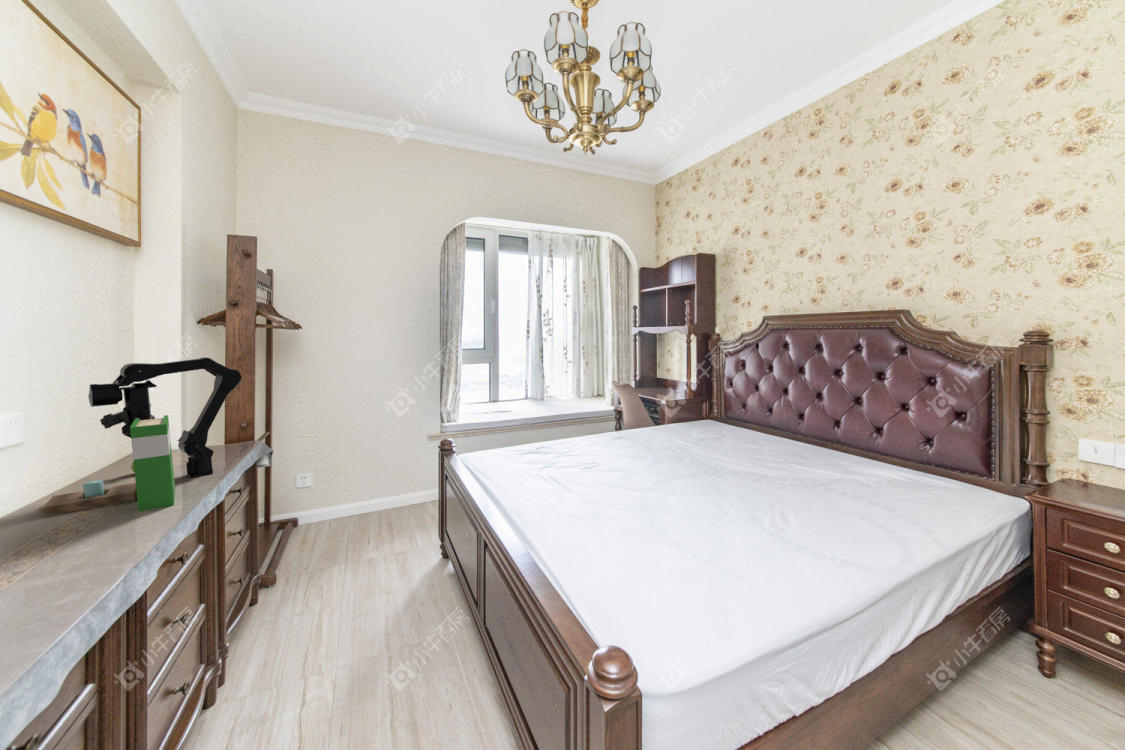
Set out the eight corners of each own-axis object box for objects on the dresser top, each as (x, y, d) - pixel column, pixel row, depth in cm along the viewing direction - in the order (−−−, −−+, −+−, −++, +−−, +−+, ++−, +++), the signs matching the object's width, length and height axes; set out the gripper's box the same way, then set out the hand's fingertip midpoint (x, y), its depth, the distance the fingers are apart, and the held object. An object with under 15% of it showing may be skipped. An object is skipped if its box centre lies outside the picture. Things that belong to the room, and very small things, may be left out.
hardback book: (143, 494, 134) (135, 418, 132) (175, 488, 139) (168, 415, 137) (138, 511, 121) (130, 427, 119) (174, 504, 126) (166, 423, 124)
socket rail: (139, 489, 138) (139, 482, 138) (135, 500, 129) (134, 492, 129) (54, 504, 127) (53, 495, 126) (43, 516, 118) (42, 507, 118)
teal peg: (106, 498, 131) (104, 479, 130) (103, 502, 128) (101, 483, 127) (86, 501, 128) (84, 482, 128) (83, 506, 125) (81, 486, 125)
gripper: (106, 401, 141) (111, 448, 143) (95, 409, 127) (100, 460, 129) (153, 398, 148) (157, 442, 150) (147, 405, 134) (152, 454, 136)
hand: (142, 449), depth 141 cm, fingers open, 9 cm apart
